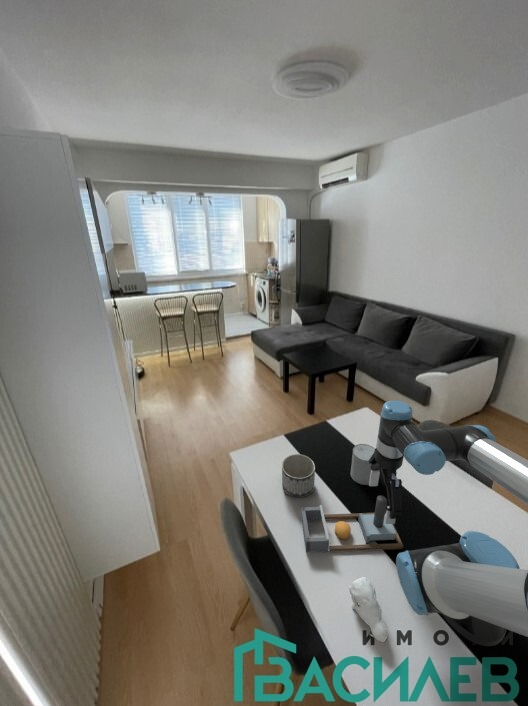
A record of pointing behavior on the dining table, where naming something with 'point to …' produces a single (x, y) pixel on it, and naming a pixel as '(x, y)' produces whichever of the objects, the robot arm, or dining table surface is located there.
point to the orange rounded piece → (342, 530)
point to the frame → (310, 543)
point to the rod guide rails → (366, 546)
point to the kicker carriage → (377, 523)
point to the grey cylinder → (361, 463)
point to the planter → (298, 475)
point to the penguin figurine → (368, 607)
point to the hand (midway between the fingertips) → (380, 502)
